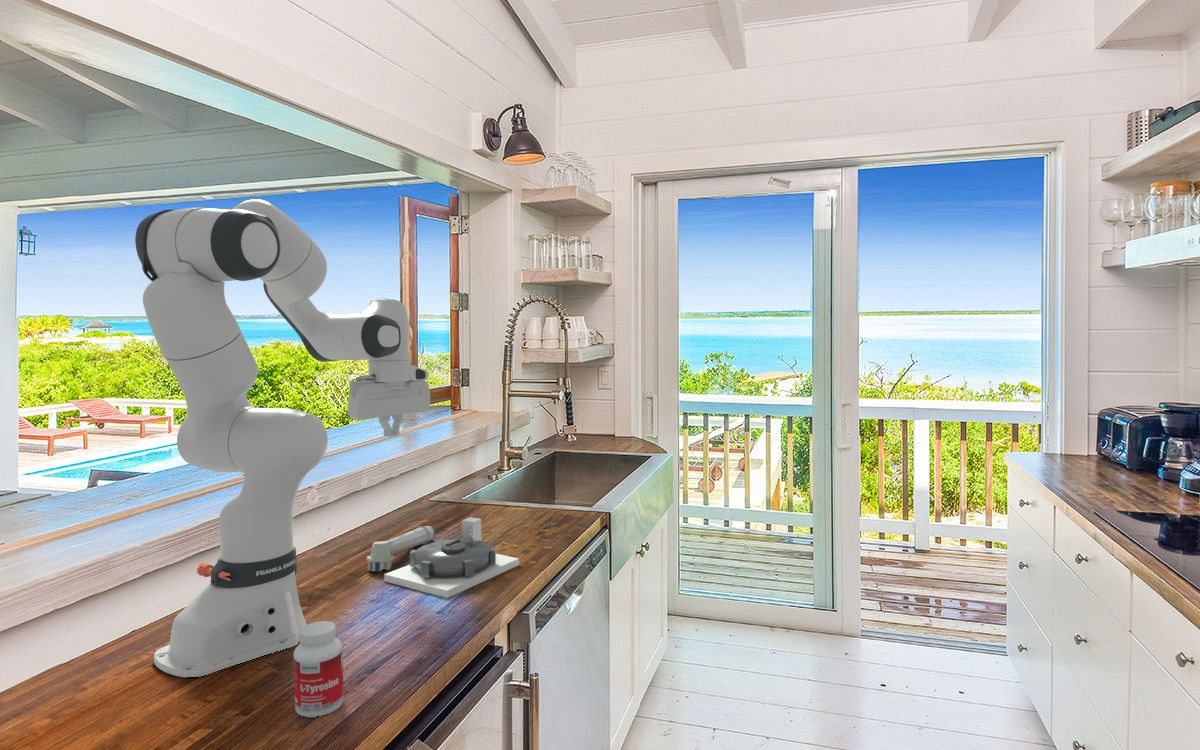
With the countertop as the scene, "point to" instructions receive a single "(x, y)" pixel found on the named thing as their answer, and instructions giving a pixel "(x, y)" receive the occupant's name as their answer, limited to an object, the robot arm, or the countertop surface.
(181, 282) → the robot arm
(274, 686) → the countertop surface
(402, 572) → the base plate
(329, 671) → the pill bottle
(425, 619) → the countertop surface
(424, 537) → the toothbrush head
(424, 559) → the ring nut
